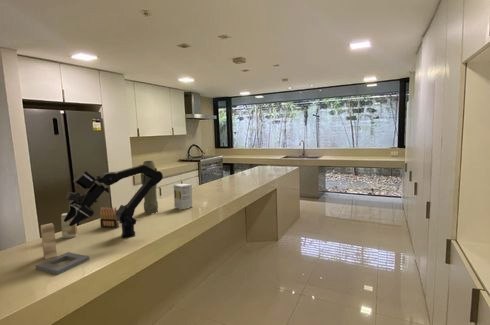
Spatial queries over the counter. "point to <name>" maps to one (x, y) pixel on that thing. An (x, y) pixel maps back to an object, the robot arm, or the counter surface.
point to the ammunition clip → (108, 218)
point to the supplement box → (183, 196)
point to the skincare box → (68, 227)
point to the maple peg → (48, 241)
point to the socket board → (55, 269)
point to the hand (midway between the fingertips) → (66, 223)
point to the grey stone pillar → (150, 192)
